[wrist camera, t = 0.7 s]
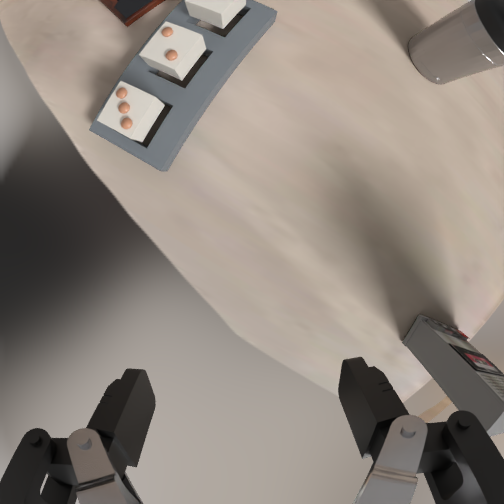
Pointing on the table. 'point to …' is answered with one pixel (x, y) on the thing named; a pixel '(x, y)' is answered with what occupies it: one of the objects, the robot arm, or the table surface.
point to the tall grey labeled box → (459, 371)
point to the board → (199, 88)
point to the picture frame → (130, 8)
